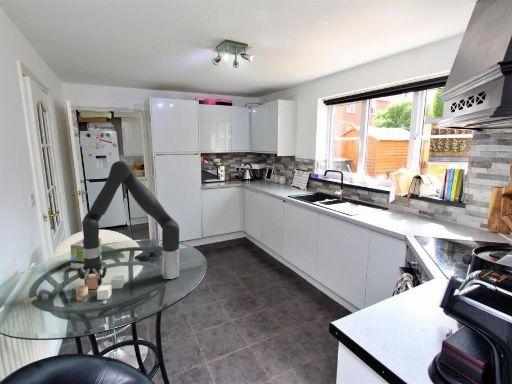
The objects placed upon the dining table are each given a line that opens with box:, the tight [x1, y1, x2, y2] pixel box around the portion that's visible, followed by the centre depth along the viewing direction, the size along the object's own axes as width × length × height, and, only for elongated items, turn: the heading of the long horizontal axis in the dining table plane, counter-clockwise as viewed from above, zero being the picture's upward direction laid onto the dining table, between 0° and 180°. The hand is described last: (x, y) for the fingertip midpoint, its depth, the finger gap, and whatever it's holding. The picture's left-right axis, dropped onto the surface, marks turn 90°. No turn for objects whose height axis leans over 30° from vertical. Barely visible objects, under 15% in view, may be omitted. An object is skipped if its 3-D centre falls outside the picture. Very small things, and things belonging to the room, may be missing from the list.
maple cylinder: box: [75, 285, 89, 302], centre depth 132 cm, size 5×5×5 cm
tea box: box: [70, 237, 102, 269], centre depth 167 cm, size 15×10×15 cm
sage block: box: [110, 274, 125, 290], centre depth 144 cm, size 5×5×5 cm
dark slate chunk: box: [133, 245, 162, 262], centre depth 186 cm, size 15×22×5 cm
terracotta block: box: [85, 274, 100, 290], centre depth 142 cm, size 5×5×5 cm
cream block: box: [96, 284, 113, 301], centre depth 134 cm, size 5×5×5 cm
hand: (93, 285), depth 142 cm, fingers closed on terracotta block, 5 cm apart
